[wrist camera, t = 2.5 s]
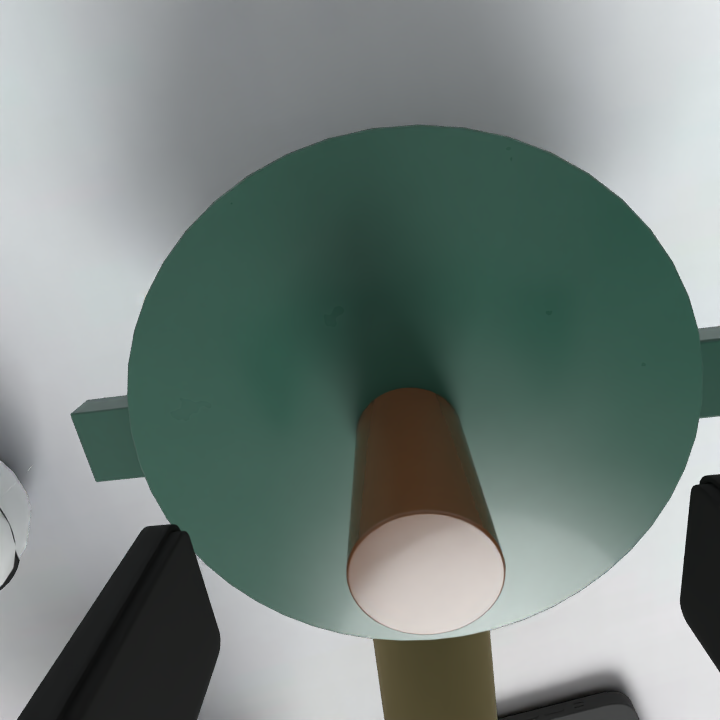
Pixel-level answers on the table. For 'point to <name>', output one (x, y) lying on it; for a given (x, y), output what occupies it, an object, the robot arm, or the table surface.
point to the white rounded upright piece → (12, 523)
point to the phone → (585, 709)
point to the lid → (415, 382)
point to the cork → (437, 678)
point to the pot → (120, 461)
